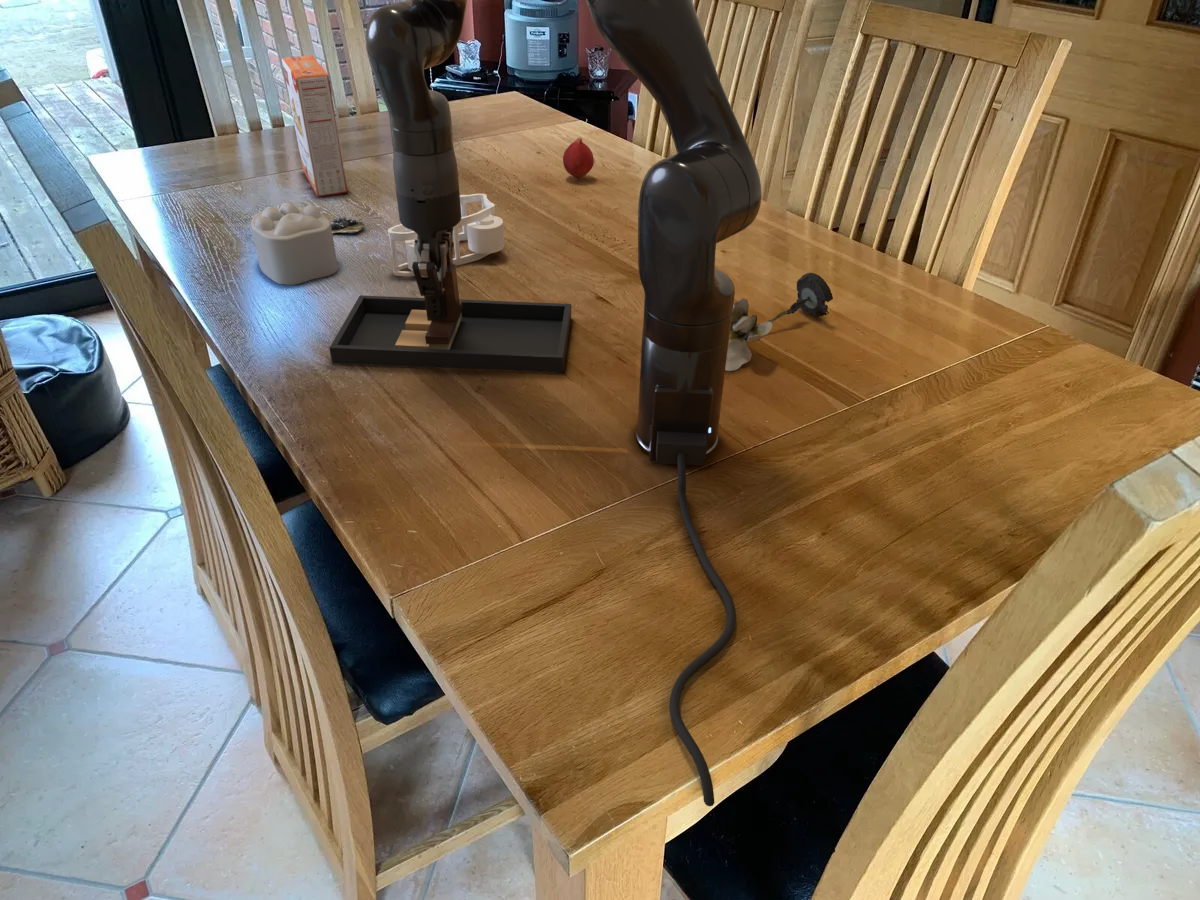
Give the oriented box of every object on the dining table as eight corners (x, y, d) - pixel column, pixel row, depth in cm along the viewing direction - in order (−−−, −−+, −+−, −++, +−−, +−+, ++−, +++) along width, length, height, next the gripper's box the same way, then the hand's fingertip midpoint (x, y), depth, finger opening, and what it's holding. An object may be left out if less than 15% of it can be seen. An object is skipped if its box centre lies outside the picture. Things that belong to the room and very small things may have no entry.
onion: (558, 182, 169) (558, 140, 165) (568, 172, 174) (568, 131, 169) (588, 186, 168) (588, 143, 163) (597, 176, 172) (597, 134, 168)
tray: (562, 376, 114) (562, 357, 112) (332, 366, 114) (329, 347, 113) (571, 321, 125) (571, 303, 124) (362, 313, 126) (359, 295, 124)
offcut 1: (438, 335, 120) (437, 324, 119) (406, 333, 120) (405, 323, 119) (444, 321, 123) (443, 310, 122) (412, 319, 124) (411, 309, 123)
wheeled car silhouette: (412, 289, 132) (407, 243, 128) (374, 264, 139) (368, 219, 134) (520, 254, 143) (518, 210, 139) (479, 232, 150) (477, 189, 145)
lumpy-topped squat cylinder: (281, 288, 132) (269, 233, 126) (247, 258, 140) (234, 205, 134) (346, 270, 137) (337, 216, 132) (310, 242, 145) (300, 190, 140)
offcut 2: (429, 357, 116) (428, 346, 115) (396, 355, 116) (394, 344, 115) (436, 341, 119) (435, 331, 118) (403, 340, 119) (402, 329, 118)
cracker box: (301, 173, 171) (280, 56, 158) (333, 169, 173) (314, 53, 160) (315, 198, 160) (293, 75, 148) (348, 193, 162) (330, 72, 150)
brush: (454, 355, 115) (445, 286, 109) (423, 354, 115) (413, 285, 109) (468, 316, 123) (461, 251, 118) (439, 316, 124) (431, 250, 118)
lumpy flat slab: (368, 234, 148) (366, 223, 147) (318, 240, 146) (317, 229, 145) (361, 219, 153) (359, 208, 152) (313, 225, 151) (311, 214, 150)
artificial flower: (838, 333, 127) (861, 281, 119) (717, 396, 118) (732, 344, 110) (796, 295, 131) (815, 242, 123) (676, 353, 122) (688, 300, 114)
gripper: (409, 163, 113) (423, 288, 123) (381, 204, 102) (399, 338, 112) (468, 165, 113) (477, 290, 123) (447, 207, 101) (459, 340, 112)
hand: (440, 312), depth 117 cm, fingers closed on brush, 2 cm apart
